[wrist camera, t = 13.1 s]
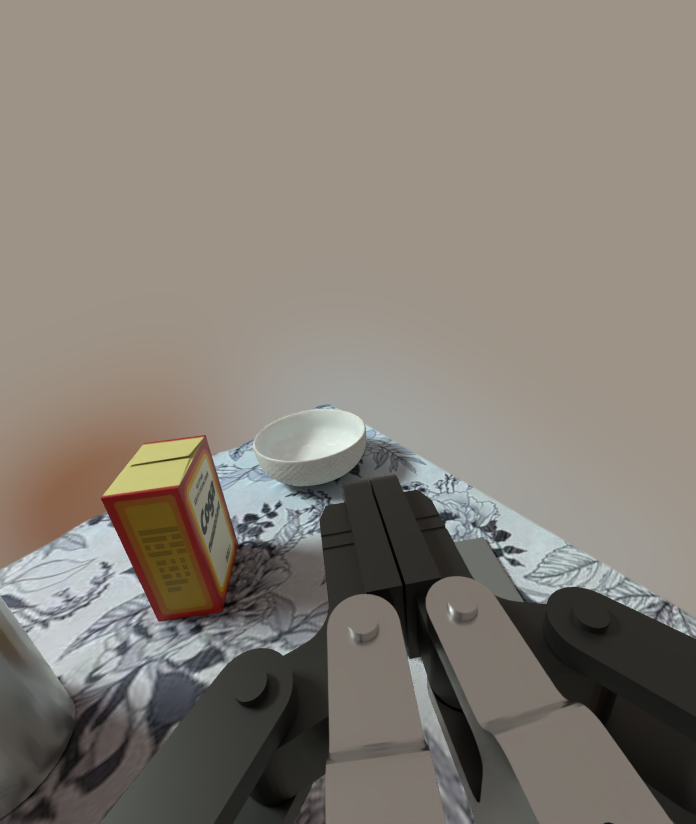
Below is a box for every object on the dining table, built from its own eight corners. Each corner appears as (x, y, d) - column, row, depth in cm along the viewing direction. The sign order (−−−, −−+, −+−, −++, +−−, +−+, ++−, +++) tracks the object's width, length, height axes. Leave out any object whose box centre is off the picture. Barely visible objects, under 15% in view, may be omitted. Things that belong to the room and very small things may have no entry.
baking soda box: (222, 612, 40) (176, 484, 33) (158, 621, 40) (99, 494, 33) (238, 544, 49) (204, 432, 42) (185, 552, 48) (143, 440, 42)
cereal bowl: (366, 439, 69) (362, 402, 66) (373, 498, 54) (369, 454, 51) (271, 448, 70) (263, 413, 67) (252, 510, 55) (240, 467, 52)
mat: (530, 616, 36) (531, 613, 36) (382, 646, 35) (381, 643, 35) (483, 539, 45) (483, 537, 45) (363, 561, 44) (363, 558, 44)
